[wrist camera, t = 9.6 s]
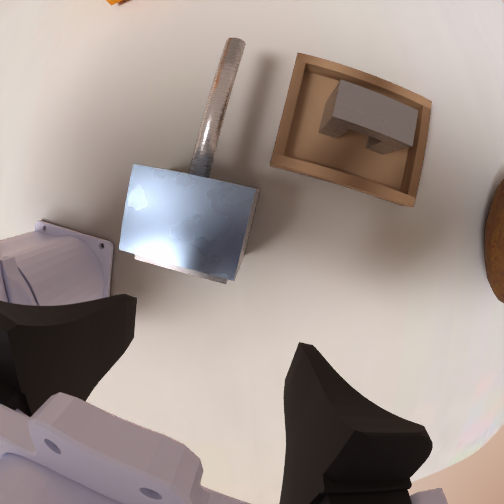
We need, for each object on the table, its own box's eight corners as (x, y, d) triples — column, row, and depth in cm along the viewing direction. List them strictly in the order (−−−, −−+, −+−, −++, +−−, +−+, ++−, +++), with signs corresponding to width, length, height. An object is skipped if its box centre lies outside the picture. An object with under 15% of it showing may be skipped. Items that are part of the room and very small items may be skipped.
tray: (270, 166, 20) (270, 163, 18) (295, 64, 18) (297, 52, 16) (401, 205, 20) (413, 207, 18) (419, 107, 18) (431, 101, 16)
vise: (154, 243, 22) (117, 262, 16) (198, 61, 19) (176, 25, 13) (241, 266, 22) (230, 294, 16) (288, 75, 19) (293, 39, 13)
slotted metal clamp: (318, 132, 19) (332, 116, 14) (325, 102, 18) (340, 79, 14) (382, 154, 19) (412, 146, 14) (388, 125, 18) (418, 110, 13)
